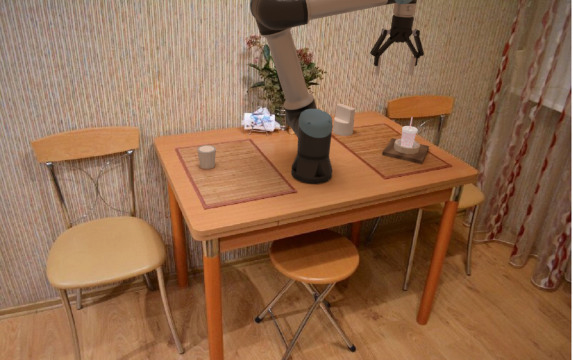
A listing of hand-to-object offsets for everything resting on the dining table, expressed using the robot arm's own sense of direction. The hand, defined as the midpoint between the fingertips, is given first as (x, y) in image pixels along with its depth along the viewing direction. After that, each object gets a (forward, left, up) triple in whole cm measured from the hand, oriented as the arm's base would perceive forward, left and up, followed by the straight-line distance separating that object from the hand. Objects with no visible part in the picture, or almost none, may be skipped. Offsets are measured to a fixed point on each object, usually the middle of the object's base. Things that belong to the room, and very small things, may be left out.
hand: (393, 74), depth 169 cm
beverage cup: (+9, +6, -31) cm, 33 cm away
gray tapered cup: (-55, -45, -33) cm, 78 cm away
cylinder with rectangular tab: (-21, +13, -33) cm, 41 cm away
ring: (+9, +6, -31) cm, 33 cm away
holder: (+9, +6, -33) cm, 34 cm away
